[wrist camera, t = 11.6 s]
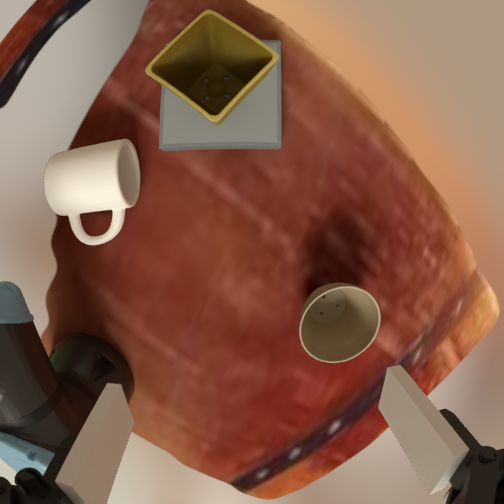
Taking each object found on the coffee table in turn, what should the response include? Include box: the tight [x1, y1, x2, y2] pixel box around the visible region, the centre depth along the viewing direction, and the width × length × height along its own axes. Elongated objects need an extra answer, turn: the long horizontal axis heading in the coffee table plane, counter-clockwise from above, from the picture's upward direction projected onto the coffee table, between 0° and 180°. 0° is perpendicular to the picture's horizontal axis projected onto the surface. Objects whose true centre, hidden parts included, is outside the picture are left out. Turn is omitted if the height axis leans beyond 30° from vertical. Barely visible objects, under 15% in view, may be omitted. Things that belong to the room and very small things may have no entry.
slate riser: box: [159, 40, 281, 151], centre depth 32 cm, size 14×14×3 cm
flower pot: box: [145, 9, 279, 125], centre depth 26 cm, size 9×9×9 cm
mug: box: [44, 139, 140, 245], centre depth 32 cm, size 12×10×8 cm
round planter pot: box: [299, 283, 380, 363], centre depth 37 cm, size 10×10×7 cm
